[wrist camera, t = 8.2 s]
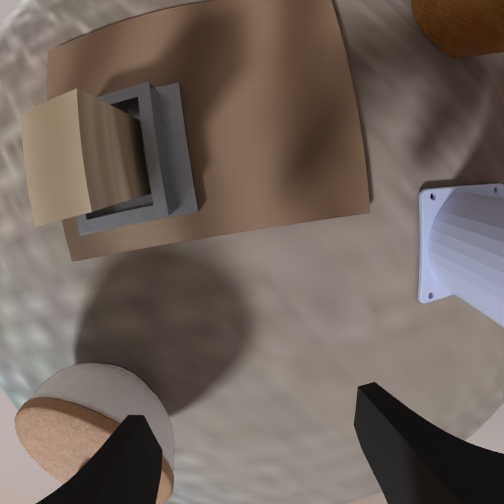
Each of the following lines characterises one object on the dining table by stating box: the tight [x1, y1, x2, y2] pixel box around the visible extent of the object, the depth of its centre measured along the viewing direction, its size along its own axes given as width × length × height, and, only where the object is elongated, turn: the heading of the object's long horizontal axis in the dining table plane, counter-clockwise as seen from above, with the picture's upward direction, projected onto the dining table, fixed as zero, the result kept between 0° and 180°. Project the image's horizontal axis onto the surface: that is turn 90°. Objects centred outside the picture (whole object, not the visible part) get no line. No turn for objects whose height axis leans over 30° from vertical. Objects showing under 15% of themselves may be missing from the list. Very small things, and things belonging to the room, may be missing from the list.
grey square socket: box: [76, 82, 200, 235], centre depth 14 cm, size 7×7×3 cm
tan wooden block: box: [21, 89, 150, 227], centre depth 11 cm, size 2×4×7 cm, turn 8°
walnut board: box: [47, 0, 370, 262], centre depth 15 cm, size 18×14×1 cm
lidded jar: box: [15, 363, 175, 504], centre depth 15 cm, size 11×11×9 cm
